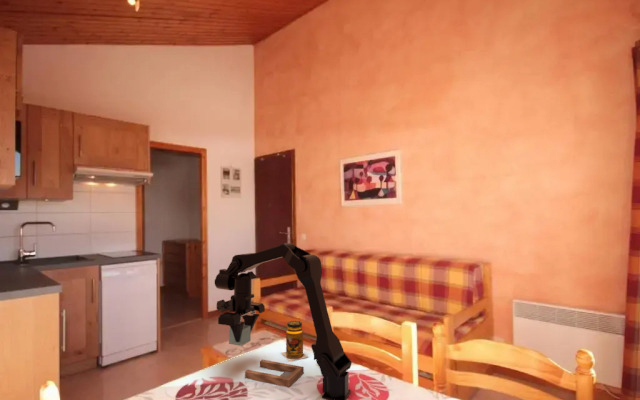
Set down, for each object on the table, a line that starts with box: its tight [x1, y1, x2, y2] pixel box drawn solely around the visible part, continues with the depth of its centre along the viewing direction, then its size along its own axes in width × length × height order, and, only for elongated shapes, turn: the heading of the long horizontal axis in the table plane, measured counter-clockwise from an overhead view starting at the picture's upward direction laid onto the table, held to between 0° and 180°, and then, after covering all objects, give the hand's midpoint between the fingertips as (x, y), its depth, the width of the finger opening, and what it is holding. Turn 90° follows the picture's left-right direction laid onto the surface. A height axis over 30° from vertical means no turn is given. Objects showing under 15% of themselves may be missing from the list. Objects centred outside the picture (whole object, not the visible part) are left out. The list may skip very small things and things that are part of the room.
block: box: [228, 325, 252, 347], centre depth 117 cm, size 5×5×5 cm
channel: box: [244, 358, 305, 388], centre depth 111 cm, size 16×10×2 cm, turn 67°
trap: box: [279, 371, 292, 377], centre depth 109 cm, size 4×6×1 cm, turn 157°
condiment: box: [280, 320, 309, 362], centre depth 127 cm, size 7×8×12 cm
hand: (242, 339), depth 116 cm, fingers closed on block, 5 cm apart
